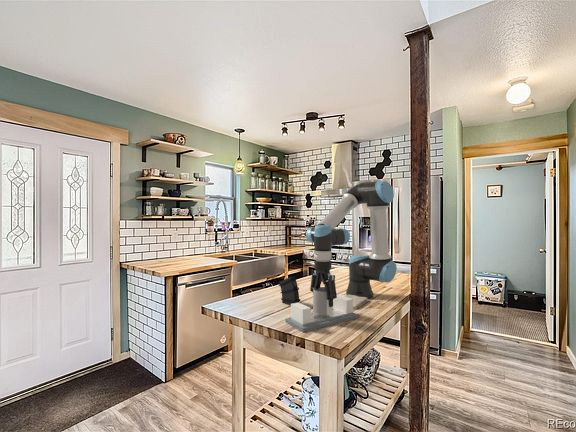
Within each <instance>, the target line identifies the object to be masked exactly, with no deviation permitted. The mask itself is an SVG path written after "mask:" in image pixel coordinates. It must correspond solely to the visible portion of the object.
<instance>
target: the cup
mask: <svg viewBox="0 0 576 432" xmlns="http://www.w3.org/2000/svg"><path fill="white" fill-rule="evenodd" d="M312 297H313V298H312V299H313V303H312V305H313V306H312V307H313V308H312V309H313V312H312V313H316V314H319V315H327V298H328V297H327V292H326V289H325V286H320V288H318V289H316V288H314V289H313V292H312ZM328 315H329V314H328Z"/></svg>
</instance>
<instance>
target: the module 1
mask: <svg viewBox="0 0 576 432" xmlns="http://www.w3.org/2000/svg"><path fill="white" fill-rule="evenodd" d="M311 311H312V307H310V306H308V305H305V304H303V303H301V302H298V303H293V304H291V306H290V318H292V319H294V320H296V321H298V322H299V323H301V324H306V323H310V322H311V313H312V312H311Z"/></svg>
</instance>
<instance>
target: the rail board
mask: <svg viewBox="0 0 576 432" xmlns="http://www.w3.org/2000/svg"><path fill="white" fill-rule="evenodd" d="M359 316H360V314H358V313H356V312H353V314H351V315H347V316H343V317H339V318H335V319H330V320H326V321H322V322H318V323H314V324H310V325H306V326H301V325H300V324H298V323H296V322H294V321H292V320H291V317H289V318H285V323H286V324H287V323H288V324H287V325H289V324H290V325H289V326H291V327H292V328H294V327H295V328H294V329H296V330H298V331H299V330H300V332H301V333H305V332H309V331H314V330H318V329H320V328H324V327H328V326H332V325H336V324H337V325H338V324H340V323H344V322H348V321H349V322H350V321H352V320H357V319H359Z"/></svg>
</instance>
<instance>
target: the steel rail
mask: <svg viewBox="0 0 576 432" xmlns="http://www.w3.org/2000/svg"><path fill="white" fill-rule="evenodd" d="M353 313H354V311H353V312H352V313H348V314H346V313H343V312H341V311H339V310H336V309H334V308H333V314H329V315H319V314H316V313H314V312H311V322H310V323H306V324H301V323H299V322H298V321H296V320H294V319H292V318H291V317H290V318H291V320H292V321H294V322H296V323H298V324H300V325H301V326H306V325H310V324H314V323H318V322H322V321H326V320H330V319H335V318H339V317H343V316H347V315H351V314H353Z"/></svg>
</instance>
